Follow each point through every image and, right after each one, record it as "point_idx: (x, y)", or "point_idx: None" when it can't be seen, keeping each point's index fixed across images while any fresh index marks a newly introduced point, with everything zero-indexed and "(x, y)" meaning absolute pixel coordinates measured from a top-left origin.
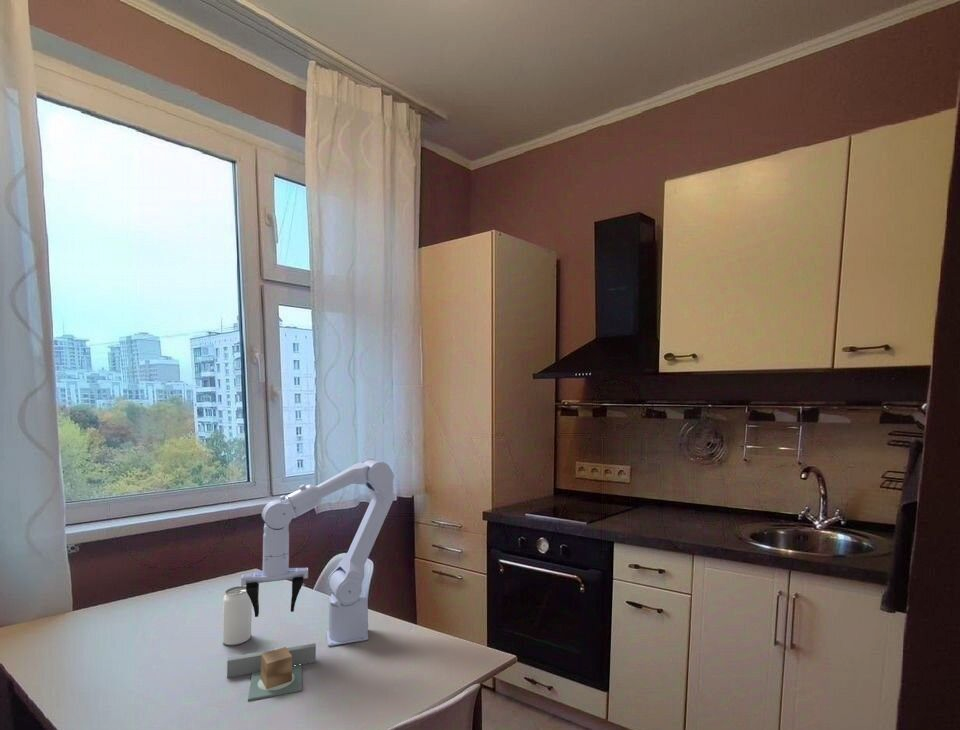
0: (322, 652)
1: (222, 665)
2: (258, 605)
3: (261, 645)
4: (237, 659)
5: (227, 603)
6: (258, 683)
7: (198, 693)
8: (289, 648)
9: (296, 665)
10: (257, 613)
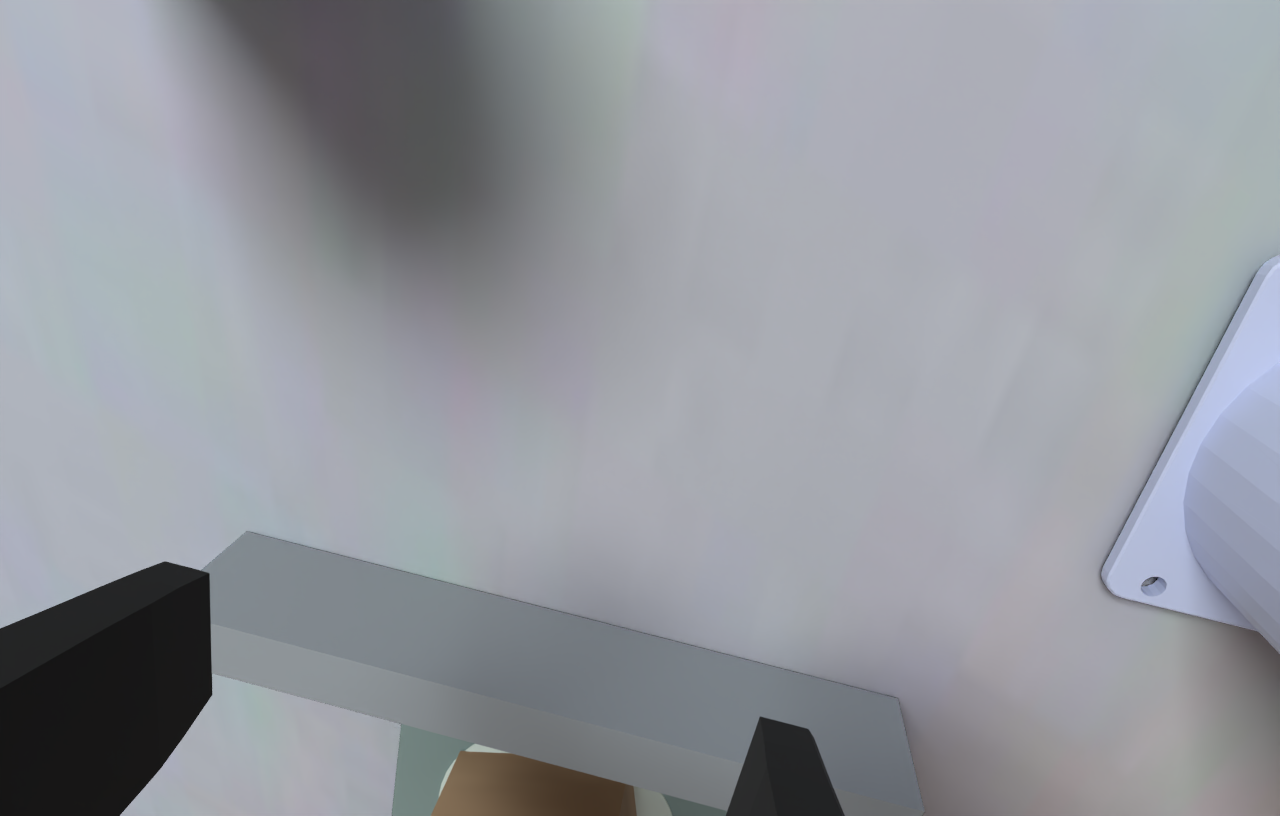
0: (1000, 630)
1: (186, 363)
2: (81, 720)
3: (513, 143)
4: (237, 676)
5: None
6: None
7: None
8: (673, 760)
9: None
10: (159, 752)
